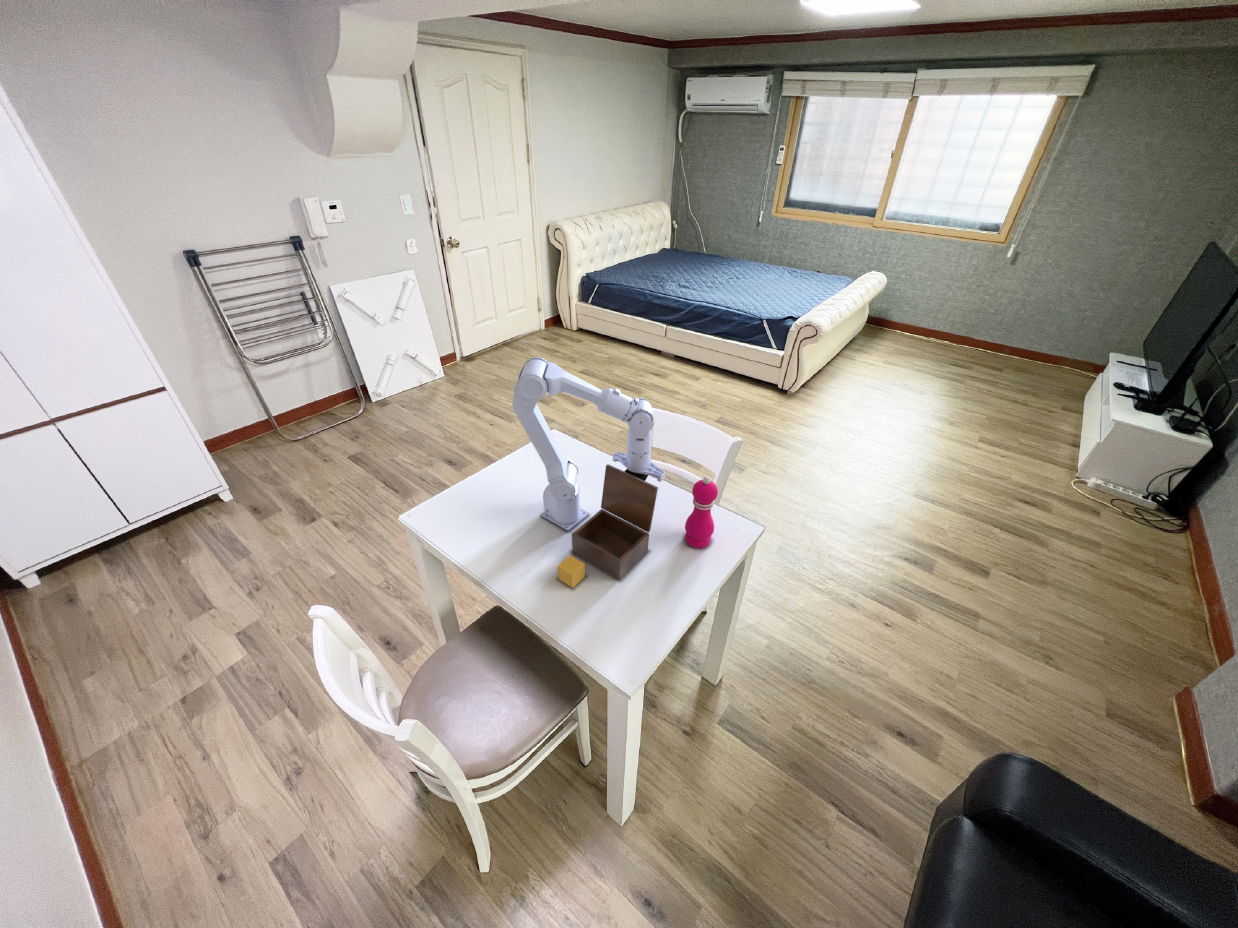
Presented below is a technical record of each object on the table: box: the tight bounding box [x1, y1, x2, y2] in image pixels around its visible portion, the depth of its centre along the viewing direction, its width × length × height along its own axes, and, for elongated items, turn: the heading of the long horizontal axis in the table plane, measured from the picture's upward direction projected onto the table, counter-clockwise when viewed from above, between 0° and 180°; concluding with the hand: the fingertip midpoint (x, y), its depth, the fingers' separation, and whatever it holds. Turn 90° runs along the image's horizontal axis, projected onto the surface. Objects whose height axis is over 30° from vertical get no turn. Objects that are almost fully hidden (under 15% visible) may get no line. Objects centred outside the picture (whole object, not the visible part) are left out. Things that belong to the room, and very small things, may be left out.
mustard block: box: [557, 554, 586, 589], centre depth 112 cm, size 4×4×4 cm
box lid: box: [600, 463, 659, 533], centre depth 118 cm, size 12×15×1 cm
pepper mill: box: [684, 476, 719, 549], centre depth 119 cm, size 7×7×20 cm
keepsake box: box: [571, 508, 650, 581], centre depth 119 cm, size 12×15×6 cm
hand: (637, 492), depth 126 cm, fingers closed
